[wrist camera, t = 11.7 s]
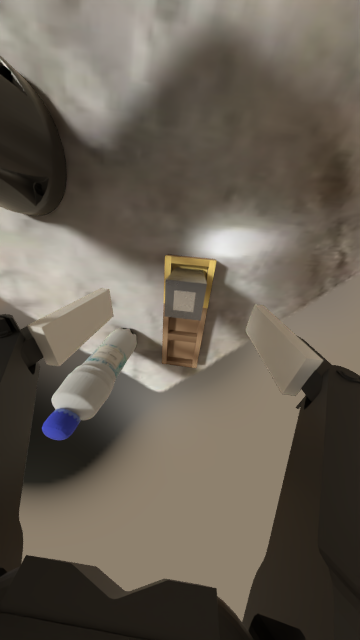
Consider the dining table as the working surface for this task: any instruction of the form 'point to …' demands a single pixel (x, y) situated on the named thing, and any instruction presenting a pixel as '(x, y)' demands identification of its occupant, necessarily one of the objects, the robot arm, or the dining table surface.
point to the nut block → (185, 293)
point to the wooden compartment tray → (185, 333)
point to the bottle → (89, 385)
